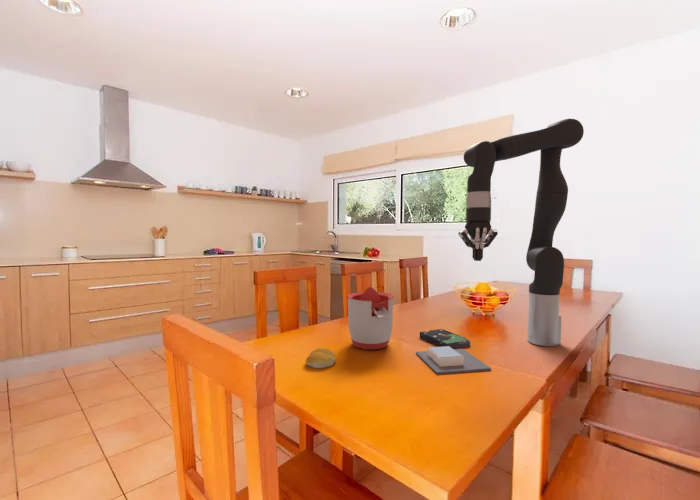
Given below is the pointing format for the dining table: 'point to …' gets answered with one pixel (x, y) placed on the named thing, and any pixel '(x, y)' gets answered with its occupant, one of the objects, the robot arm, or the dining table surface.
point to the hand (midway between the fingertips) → (477, 260)
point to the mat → (468, 365)
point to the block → (445, 356)
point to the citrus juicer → (370, 318)
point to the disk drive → (444, 338)
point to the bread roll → (320, 358)
